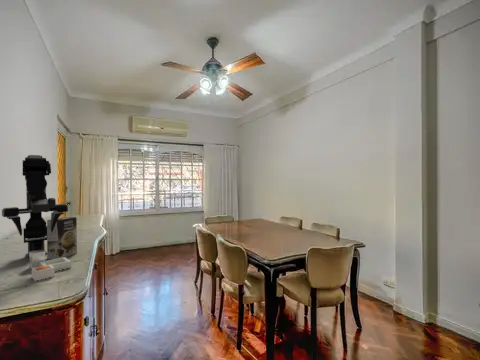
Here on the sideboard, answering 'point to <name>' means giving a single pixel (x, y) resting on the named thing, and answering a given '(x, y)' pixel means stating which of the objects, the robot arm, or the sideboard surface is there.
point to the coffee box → (62, 238)
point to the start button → (42, 267)
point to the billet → (36, 258)
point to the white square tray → (57, 263)
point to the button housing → (43, 273)
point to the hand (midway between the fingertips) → (37, 233)
